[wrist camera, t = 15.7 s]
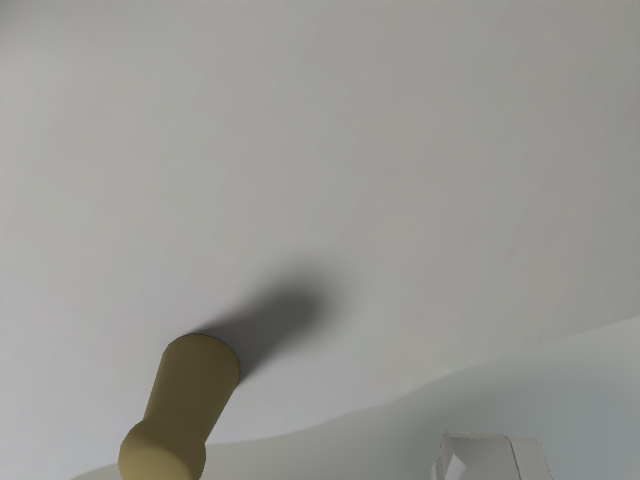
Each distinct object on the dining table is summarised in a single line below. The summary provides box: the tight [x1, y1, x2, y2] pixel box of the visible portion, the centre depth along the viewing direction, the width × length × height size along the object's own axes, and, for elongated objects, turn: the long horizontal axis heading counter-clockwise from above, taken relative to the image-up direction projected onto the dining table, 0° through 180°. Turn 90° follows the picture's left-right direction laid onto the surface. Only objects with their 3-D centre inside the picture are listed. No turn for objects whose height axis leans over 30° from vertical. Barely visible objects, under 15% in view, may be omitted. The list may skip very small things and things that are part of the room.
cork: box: [118, 334, 240, 480], centre depth 39 cm, size 6×6×11 cm
